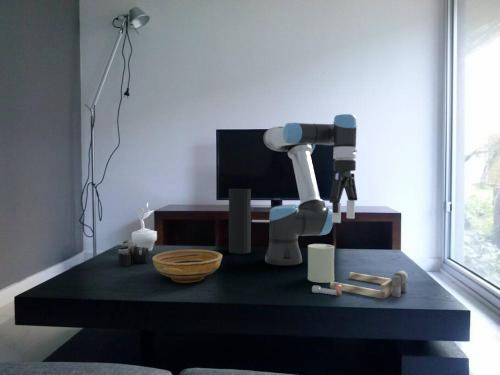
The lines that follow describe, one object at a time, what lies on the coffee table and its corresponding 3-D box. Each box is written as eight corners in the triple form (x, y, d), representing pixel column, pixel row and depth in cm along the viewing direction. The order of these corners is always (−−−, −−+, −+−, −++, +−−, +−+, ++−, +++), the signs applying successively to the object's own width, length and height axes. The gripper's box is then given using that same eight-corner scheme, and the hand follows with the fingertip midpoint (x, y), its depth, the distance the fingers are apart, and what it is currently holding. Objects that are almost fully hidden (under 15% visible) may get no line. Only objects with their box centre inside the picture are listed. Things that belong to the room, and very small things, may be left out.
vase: (224, 253, 174) (224, 189, 174) (240, 250, 181) (240, 188, 181) (238, 256, 167) (238, 189, 166) (255, 253, 174) (255, 189, 173)
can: (334, 283, 124) (334, 247, 123) (306, 282, 126) (306, 246, 125) (334, 276, 133) (334, 243, 132) (308, 275, 135) (308, 242, 134)
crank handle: (312, 292, 115) (312, 282, 115) (314, 290, 116) (314, 280, 116) (340, 296, 110) (340, 286, 110) (342, 294, 112) (342, 284, 112)
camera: (142, 269, 143) (142, 243, 143) (115, 270, 143) (115, 244, 143) (151, 260, 159) (151, 237, 159) (126, 260, 159) (126, 237, 158)
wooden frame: (330, 288, 118) (330, 267, 118) (350, 277, 131) (350, 259, 131) (397, 301, 105) (397, 278, 105) (413, 288, 118) (413, 268, 118)
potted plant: (143, 256, 167) (143, 200, 167) (126, 253, 174) (126, 199, 173) (164, 251, 178) (163, 199, 177) (147, 249, 184) (147, 198, 184)
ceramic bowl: (205, 293, 113) (205, 267, 113) (134, 288, 119) (133, 263, 119) (233, 270, 142) (233, 249, 141) (174, 266, 147) (174, 246, 147)
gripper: (341, 158, 117) (340, 225, 118) (366, 160, 138) (365, 217, 138) (319, 158, 121) (318, 223, 122) (346, 160, 142) (346, 216, 143)
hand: (343, 220), depth 130 cm, fingers open, 13 cm apart
